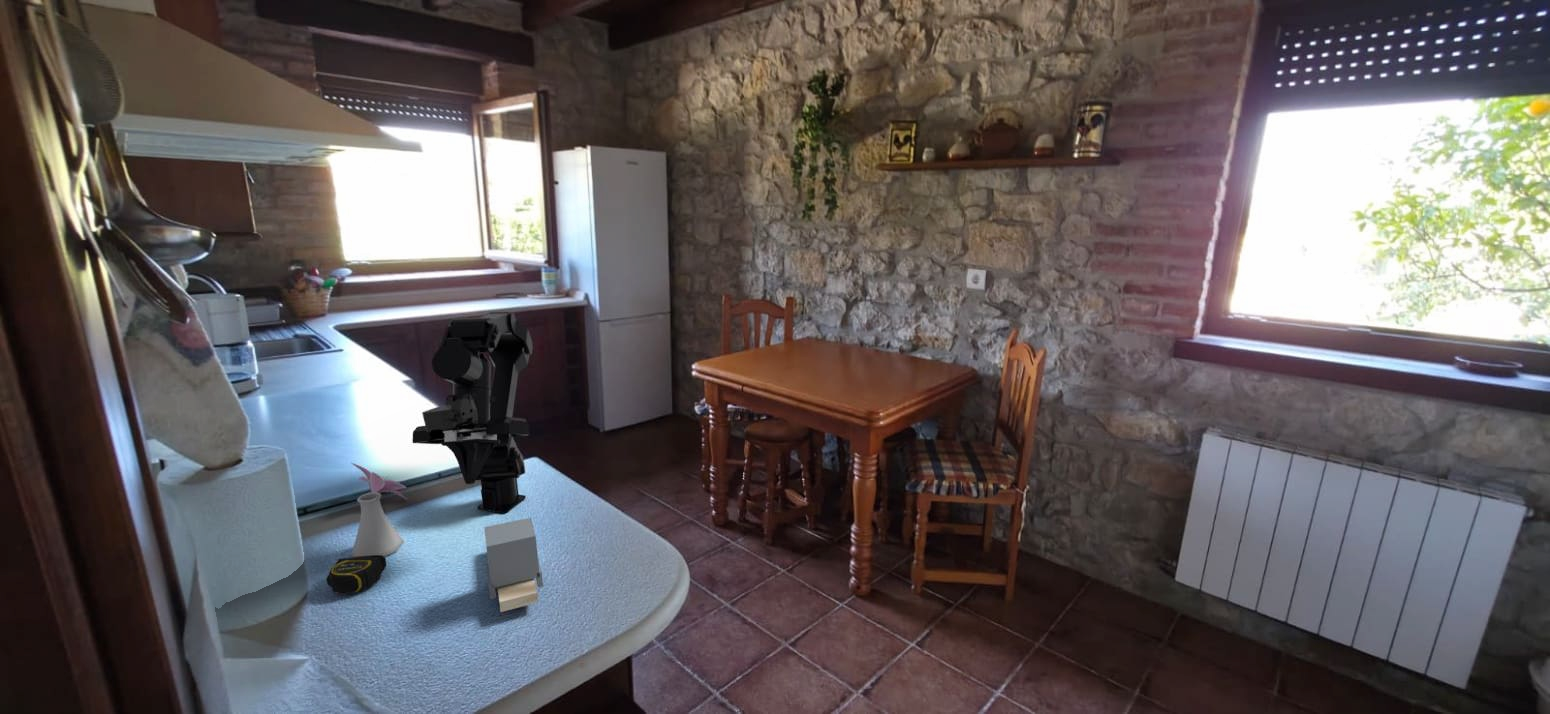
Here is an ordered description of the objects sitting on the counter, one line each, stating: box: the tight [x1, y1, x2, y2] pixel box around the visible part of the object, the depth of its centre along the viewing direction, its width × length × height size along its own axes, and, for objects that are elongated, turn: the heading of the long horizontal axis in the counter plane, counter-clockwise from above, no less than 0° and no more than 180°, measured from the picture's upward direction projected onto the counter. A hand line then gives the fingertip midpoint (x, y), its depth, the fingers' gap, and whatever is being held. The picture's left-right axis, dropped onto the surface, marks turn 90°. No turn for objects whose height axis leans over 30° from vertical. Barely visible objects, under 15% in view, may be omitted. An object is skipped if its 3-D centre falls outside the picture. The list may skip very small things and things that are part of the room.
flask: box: [350, 491, 405, 558], centre depth 106 cm, size 7×7×10 cm
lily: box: [350, 462, 408, 501], centre depth 122 cm, size 11×11×9 cm
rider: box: [483, 517, 544, 600], centre depth 95 cm, size 6×7×8 cm
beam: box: [497, 578, 539, 613], centre depth 99 cm, size 20×5×3 cm, turn 26°
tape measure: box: [326, 555, 387, 595], centre depth 97 cm, size 7×7×4 cm
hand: (469, 483), depth 104 cm, fingers closed
